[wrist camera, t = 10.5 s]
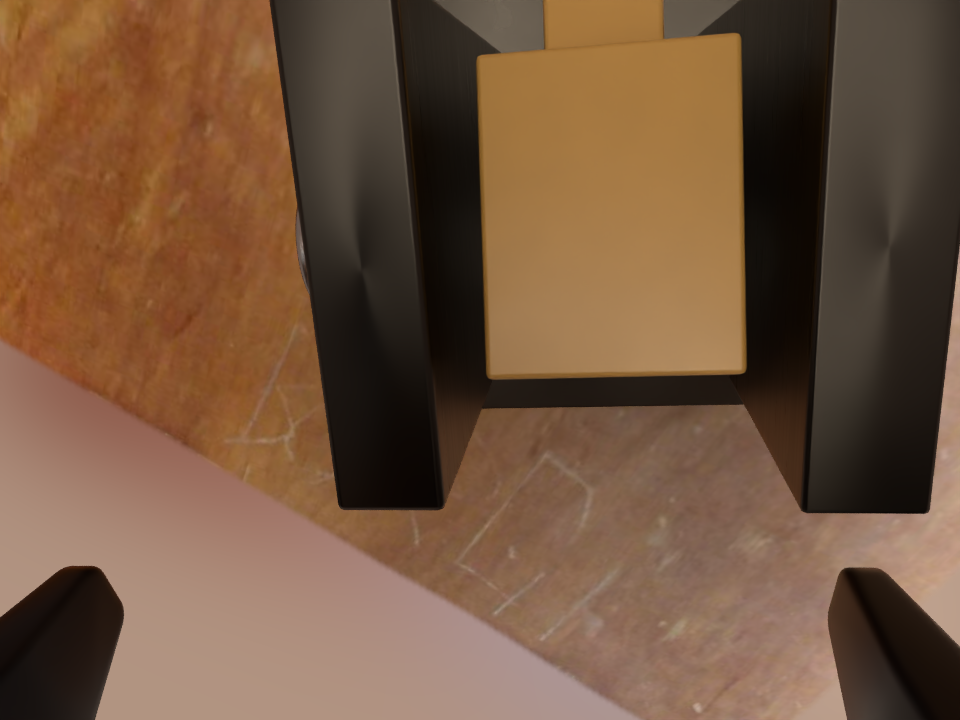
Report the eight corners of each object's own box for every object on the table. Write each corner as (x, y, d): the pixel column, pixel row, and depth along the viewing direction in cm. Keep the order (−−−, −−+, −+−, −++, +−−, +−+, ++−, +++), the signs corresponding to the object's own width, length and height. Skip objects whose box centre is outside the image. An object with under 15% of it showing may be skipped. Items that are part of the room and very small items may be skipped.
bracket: (397, -87, 18) (-126, -648, 5) (800, -134, 16) (1589, -1095, 3) (440, 394, 21) (203, 823, 8) (776, 388, 20) (1125, 891, 7)
